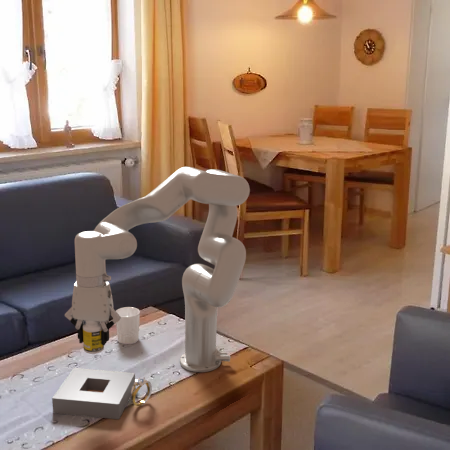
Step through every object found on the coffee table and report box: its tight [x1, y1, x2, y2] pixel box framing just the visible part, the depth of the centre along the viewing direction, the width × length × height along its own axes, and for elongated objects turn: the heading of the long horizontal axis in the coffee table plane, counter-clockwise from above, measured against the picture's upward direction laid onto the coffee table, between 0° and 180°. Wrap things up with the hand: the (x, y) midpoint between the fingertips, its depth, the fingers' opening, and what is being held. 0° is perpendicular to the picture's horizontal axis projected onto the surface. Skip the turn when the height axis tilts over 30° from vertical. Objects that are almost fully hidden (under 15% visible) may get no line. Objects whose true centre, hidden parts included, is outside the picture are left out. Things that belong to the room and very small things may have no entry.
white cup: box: [115, 306, 141, 345], centre depth 207 cm, size 8×8×10 cm
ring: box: [130, 377, 153, 407], centre depth 171 cm, size 7×3×8 cm, turn 137°
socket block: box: [51, 367, 136, 420], centre depth 173 cm, size 18×16×4 cm
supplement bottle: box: [82, 320, 105, 355], centre depth 168 cm, size 5×5×10 cm
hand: (93, 341), depth 169 cm, fingers closed on supplement bottle, 5 cm apart
